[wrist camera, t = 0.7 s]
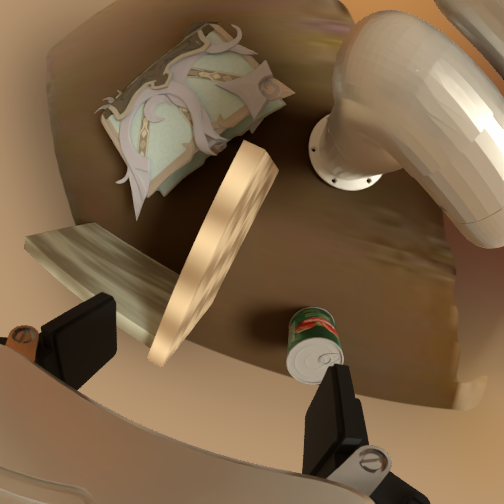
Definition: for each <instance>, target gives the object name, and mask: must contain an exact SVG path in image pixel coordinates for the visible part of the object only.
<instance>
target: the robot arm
mask: <svg viewBox="0 0 504 504" xmlns="http://www.w3.org/2000/svg"><path fill="white" fill-rule="evenodd" d="M434 2H435V4H436V6H437V7H438V9H439V10H440V11H441V13H442V14H443V15H444V16H445V17H446V18H447V20H448V21H449V22H450V23H451V24H452V25H453V26H455V28H456V29H457V30H458V31H459V32H460V33H461V34H462V35H463V36H464V37H465V38H466V39H467V40H468V41H469V42H470V43H471V44H472V45H473V46H474V47H475V48H476V49H477V50H478V51H479V52H480V53H481V55H482V56H483V57H484V58H485V59H486V60H487V61H488V62H489V63H490V65H491V66H492V67H493V68H494V69H495V70H496V72H497V73H498V74H499V75H500V76H501V78H502V79H503V80H504V0H434ZM332 88H333V97H334V106H333V109H332V111H331V113H330V114H329V115H327V116H325V117H324V118H322V119H321V120H320V121H319V122H318V123H317V124H316V125H315V127H314V128H313V130H312V132H311V135H310V138H309V144H308V151H309V158H310V161H311V164H312V166H313V168H314V170H315V171H316V173H317V174H318V175H319V176H320V177H321V178H322V179H323V180H324V181H325V182H326V183H328V184H329V185H331V186H333V187H335V188H338V189H341V190H346V191H356V190H362V189H365V188H368V187H369V186H371V185H373V184H374V183H375V182H376V181H378V180H379V178H380V177H381V176H382V174H384V173H388V172H393V171H396V170H399V169H401V168H404V169H405V170H406V171H407V172H408V173H409V174H410V175H411V176H412V177H413V178H415V179H416V180H417V181H418V183H419V184H420V185H421V186H422V187H423V188H424V189H425V190H426V191H427V193H428V194H429V195H430V196H431V197H432V198H433V199H434V201H435V202H436V203H437V204H438V205H439V207H440V208H441V209H442V210H443V211H444V213H445V214H446V215H447V216H448V217H449V219H450V220H451V221H452V222H453V224H454V225H455V226H456V227H457V229H458V230H459V231H460V232H461V233H462V234H463V235H464V236H465V237H466V238H467V239H468V240H469V241H471V242H472V243H473V244H476V245H477V246H480V247H484V248H497V247H502V246H504V98H503V97H502V95H501V94H500V93H499V90H498V89H497V87H496V86H495V85H494V84H493V83H492V81H491V80H490V79H489V78H488V77H487V76H486V74H485V73H484V72H483V71H482V70H481V69H480V68H479V67H478V66H477V65H476V63H475V62H474V61H473V60H472V59H471V58H470V57H469V56H468V55H467V54H466V53H465V52H464V51H463V50H462V49H461V48H460V47H459V46H458V45H457V44H456V43H454V42H453V41H452V40H451V39H450V38H449V37H447V36H446V35H445V34H444V33H442V32H441V31H439V30H438V29H437V28H435V27H434V26H432V25H431V24H429V23H428V22H426V21H424V20H422V19H420V18H418V17H416V16H414V15H411V14H408V13H406V12H401V11H396V10H385V11H378V12H375V13H372V14H370V15H368V16H366V17H364V18H363V19H361V20H360V21H359V22H358V23H357V24H356V25H355V26H354V27H353V28H352V29H351V30H350V31H349V33H348V34H347V35H346V37H345V38H344V40H343V42H342V44H341V46H340V48H339V51H338V53H337V57H336V60H335V64H334V70H333V79H332ZM327 120H328V121H327ZM312 149H315V152H313V151H312ZM332 179H334V180H335V182H334V183H333V182H332ZM367 179H368V180H369V182H368V183H367ZM41 331H42V332H41V333H38V331H37V330H36V329H35V328H33V327H31V326H27V325H24V326H23V325H22V326H18V327H15V328H14V329H12V330H11V331H10V333H9V336H8V338H6V337H0V504H430V501H429V500H428V498H427V497H426V496H425V495H423V494H422V493H420V492H419V491H417V490H416V489H414V488H413V487H412V486H410V485H409V484H407V483H406V482H404V481H403V480H401V479H400V478H399V477H397V476H395V475H394V474H393V473H392V472H390V469H391V467H392V460H391V457H390V456H389V454H388V453H387V452H386V451H385V450H384V449H382V448H380V447H378V446H373V445H369V442H368V436H367V431H366V426H365V421H364V415H363V410H362V406H361V402H360V400H359V399H357V398H355V394H354V389H353V384H352V379H351V375H350V370H349V366H347V365H341V364H336V363H335V364H334V365H333V366H329V367H328V368H327V371H326V373H325V375H324V377H323V379H322V381H321V384H320V386H319V388H318V390H317V392H316V394H315V396H314V398H313V400H312V402H311V404H310V406H309V408H308V410H307V413H306V416H305V436H304V455H303V469H302V474H301V473H295V472H291V471H286V470H280V469H275V468H271V467H266V466H261V465H257V464H253V463H249V462H245V461H241V460H237V459H233V458H230V457H226V456H223V455H220V454H216V453H213V452H210V451H207V450H204V449H201V448H198V447H195V446H192V445H189V444H186V443H183V442H181V441H178V440H176V439H173V438H170V437H168V436H166V435H163V434H161V433H158V432H156V431H153V430H151V429H149V428H147V427H144V426H142V425H140V424H138V423H136V422H134V421H132V420H129V419H128V418H126V417H124V416H122V415H120V414H118V413H116V412H114V411H112V410H110V409H108V408H106V407H104V406H103V405H101V404H99V403H97V402H95V401H94V400H92V399H90V398H88V397H87V396H85V395H83V394H82V393H80V392H79V391H77V390H78V389H79V388H80V387H81V386H82V385H83V384H84V383H86V382H87V381H88V380H89V379H90V378H91V377H92V376H93V375H94V374H95V373H96V372H97V371H98V370H99V369H101V368H102V367H103V366H104V365H105V364H106V363H107V362H108V361H109V360H110V359H111V358H112V357H114V355H115V354H116V351H117V335H116V334H117V332H116V301H115V300H114V297H113V296H111V295H109V294H106V293H104V292H100V293H99V294H97V295H95V296H93V297H91V298H90V299H88V300H86V301H84V302H83V303H81V304H79V305H78V306H76V307H74V308H72V309H70V310H69V311H67V312H65V313H63V314H62V315H60V316H58V317H57V318H55V319H53V320H51V321H50V322H48V323H47V324H45V325H43V326H41Z"/></svg>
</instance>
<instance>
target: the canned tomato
mask: <svg viewBox="0 0 504 504" xmlns="http://www.w3.org/2000/svg"><path fill="white" fill-rule="evenodd" d="M343 361H344V358H343V353H342V350H341V345H340V342H339V338H338V334H337V330H336V327H335V323H334V319H333V317H332V316H331V314H330V313H329V312H328V311H326V310H325V309H322V308H320V307H306V308H304V309H301V310H300V311H298V312H297V313H296V314H294V316H293V317H292V319H291V321H290V324H289V337H288V350H287V359H286V365H287V369H288V371H289V373H290V374H291V376H292V377H293V378H295V379H296V380H298V381H300V382H302V383H305V384H321V381H322V379H323V377H324V375H325V373H326V371H327V368H328V367H329V366H333V365H334V364H335V363H336V364H341V365H343Z"/></svg>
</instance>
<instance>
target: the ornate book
mask: <svg viewBox="0 0 504 504" xmlns="http://www.w3.org/2000/svg"><path fill="white" fill-rule="evenodd" d="M217 23H218V22H200V23H192V24H191V26H190V28H189V30H188V32H187V34H186V36H185V38H184V39H183V41H182V42H180V43H179V44H177V45H176V46H175V47H174V48H172V49H171V50H170V51H168V52H167V53H166V54H165V55H163V56H162V57H161V58H160V59H158V60H157V61H156V62H155V63H154V64H152V65H151V66H150V67H149V68H148V69H147V70H145V71H144V72H143V73H141V74H140V75H139V76H138V77H137V78H136V79H135V80H132V82H131V84H130V85H129V86H128V87H127V88H126V90H125V91H124V92H123V93H122V92H121V91H119V90H117V91H118V92H119V95H118V96H117V97H116V100H114V98H111V97H107V98H105V99H103V100H108V103H112V104H108V105H104V106H102V107H100V108H98V109H97V110H96V112H97V111H99V110H100V109H106V108H107V109H106V110H105V111H104V112H103V113H102V115H101V117H100V122H101V121H102V124H103V126H104V128H105V130H106V131H107V133H108V135H109V136H110V138H111V140H112V141H113V143H114V145H115V146H116V148H117V150H118V151H119V153H120V155H121V156H122V158H123V160H124V161H125V163H126V164H127V166H128V169H127V173H126V176H125V177H124V178H123V179H121V180H119V181H117V182H115V183H118V184H121V183H124V182H125V181H126V180H127V179H128V178H129V180H130V185H131V189H132V196H133V202H134V209H135V215H136V221H137V219H138V216H139V214H140V211H141V208H142V205H143V203H144V200H145V198H146V196H147V197H148V198H149V197H150V196H151V195H152V194H153V193H154V192H155V191H160V192H161V194H162V195H163V197H165V196H166V195H167V194H169V193H170V191H171V190H172V189H173V188H174V187H175V186H176V185H177V184H178V183H179V182H180V181H182V180H183V179H184V178H185V177H186V176H188V175H189V174H190V173H192V172H193V171H195V170H196V169H198V168H199V167H201V166H202V165H204V162H205V160H206V158H208V157H209V156H212V155H216V156H217V154H218V153H219V152H221V151H223V150H224V148H226V146H227V145H226V143H227V142H228V141H230V140H231V139H232V138H234V137H235V136H242V135H243V134H244V133H245V132H246V131H248V130H249V129H250V132H251V133H252V134H253V133H254V131H255V129H256V128H257V127H258V125H259V124H260V123H261V121H262V120H263V119H264V118H265V117H266V116H268V115H270V114H271V113H273V112H275V111H277V110H279V109H280V108H282V107H284V106H285V105H286V103H285V102H284V101H283V100H282V98H285V97H287V96H290V95H292V94H295V92H293V91H292V90H291V89H289V88H288V87H287V86H285V85H284V84H283V83H281V82H280V81H278V80H277V79H275V78H273V74H272V72H271V70H270V68H269V65H268V63H267V61H266V60H265V61H264V62H263V63H261V64H259V63H258V62H257V61H256V60H255V59H254V58H253V57H252V56H251V55H259V54H258V53H256V52H254V51H252V50H250V49H248V48H246V47H244V46H241V45H240V44H239V41H240V40H241V38H242V31H241V29H240V28H239V27H238V26H236V25H232V24H230V25H231V26H233V27H234V28H235V29H236V30H237V31H238V33H237V37H236V38H235V39H233V38H232V37H231V36H230V35H229V34H228V33H227V32H226V31H225V30H224V29H223V28H222V27H220V26H219V25H217ZM96 112H95V113H96ZM95 113H94V114H95Z"/></svg>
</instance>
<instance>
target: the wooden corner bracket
mask: <svg viewBox="0 0 504 504" xmlns="http://www.w3.org/2000/svg"><path fill="white" fill-rule="evenodd" d="M278 172H279V170H278V168H277V167H276V165H275V164H274V162H273V161H272V159H271V158H270V156H269V155H268V153H267V152H266V150H265V149H263V148H260V147H258V146H256V145H254V144H252V143H250V142H247V141H245V140H244V141H243V143H242V145H241V146H240V148H239V150H238V152H237V154H236V156H235V158H234V160H233V162H232V164H231V166H230V168H229V170H228V172H227V174H226V176H225V178H224V180H223V182H222V184H221V186H220V188H219V190H218V192H217V195H216V197H215V199H214V201H213V203H212V205H211V207H210V209H209V211H208V214H207V216H206V218H205V220H204V222H203V224H202V227H201V229H200V231H199V233H198V235H197V238H196V240H195V242H194V244H193V246H192V249H191V251H190V253H189V256H188V258H187V260H186V262H185V265H184V267H183V269H182V272H181V274H180V275H179V274H177V273H175V272H174V271H172V270H170V269H169V268H167V267H165V266H163V265H162V264H160V263H158V262H157V261H155V260H153V259H152V258H150V257H149V256H147V255H145V254H144V253H142V252H140V251H139V250H137V249H135V248H134V247H132V246H131V245H129V244H127V243H126V242H124V241H123V240H121V239H120V238H118V237H116V236H115V235H113V234H112V233H110V232H109V231H107V230H105V229H104V228H102V227H101V226H99V225H98V224H96V223H95V222H94V223H88V224H83V225H78V226H73V227H68V228H63V229H59V230H54V231H49V232H44V233H40V234H35V235H31V236H26V237H25V244H24V249H25V250H26V251H27V252H28V253H29V254H30V255H31V256H32V257H33V258H35V259H36V260H37V261H38V262H39V263H40V264H41V265H42V266H43V267H44V268H45V269H46V270H47V271H49V272H50V273H51V274H52V275H53V276H54V277H55V278H56V279H58V280H59V281H60V282H61V283H62V284H64V285H65V286H66V287H67V288H68V289H69V290H71V291H72V292H73V293H74V294H76V295H77V296H78V297H79V298H81V299H82V300H83V301H86V300H88V299H90V298H91V297H93V296H95V295H97V294H99V293H100V292H104V293H106V294H109V295H111V296H113V297H114V300H115V301H116V325H117V326H118V327H119V328H121V329H122V330H124V331H125V332H127V333H128V334H130V335H131V336H133V337H134V338H136V339H137V340H139V341H140V342H142V343H143V344H145V345H146V346H148V347H149V348H151V349H150V352H149V355H148V357H147V359H148V360H149V361H151V362H152V363H154V364H156V365H157V366H159V367H161V368H162V367H163V366H164V365H165V363H166V362H167V361H168V360H169V358H170V357H171V356H172V354H173V353H174V352H175V350H176V349H177V348H178V347H179V345H180V344H181V343H182V342H183V340H184V339H185V338H186V336H187V335H188V334H189V333H190V331H191V330H192V329H193V327H194V326H195V325H196V324H197V322H198V321H199V320H200V318H201V317H202V316H203V315H204V313H205V312H206V311H207V309H208V308H209V307H210V306H211V304H212V302H213V300H214V298H215V296H216V294H217V292H218V290H219V288H220V286H221V284H222V282H223V280H224V278H225V276H226V274H227V272H228V270H229V268H230V266H231V264H232V262H233V260H234V258H235V256H236V254H237V252H238V250H239V248H240V246H241V244H242V242H243V240H244V238H245V236H246V234H247V232H248V230H249V228H250V226H251V224H252V223H253V221H254V219H255V217H256V215H257V213H258V211H259V209H260V207H261V205H262V203H263V201H264V199H265V197H266V195H267V193H268V191H269V189H270V187H271V185H272V184H273V182H274V180H275V178H276V176H277V174H278Z"/></svg>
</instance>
